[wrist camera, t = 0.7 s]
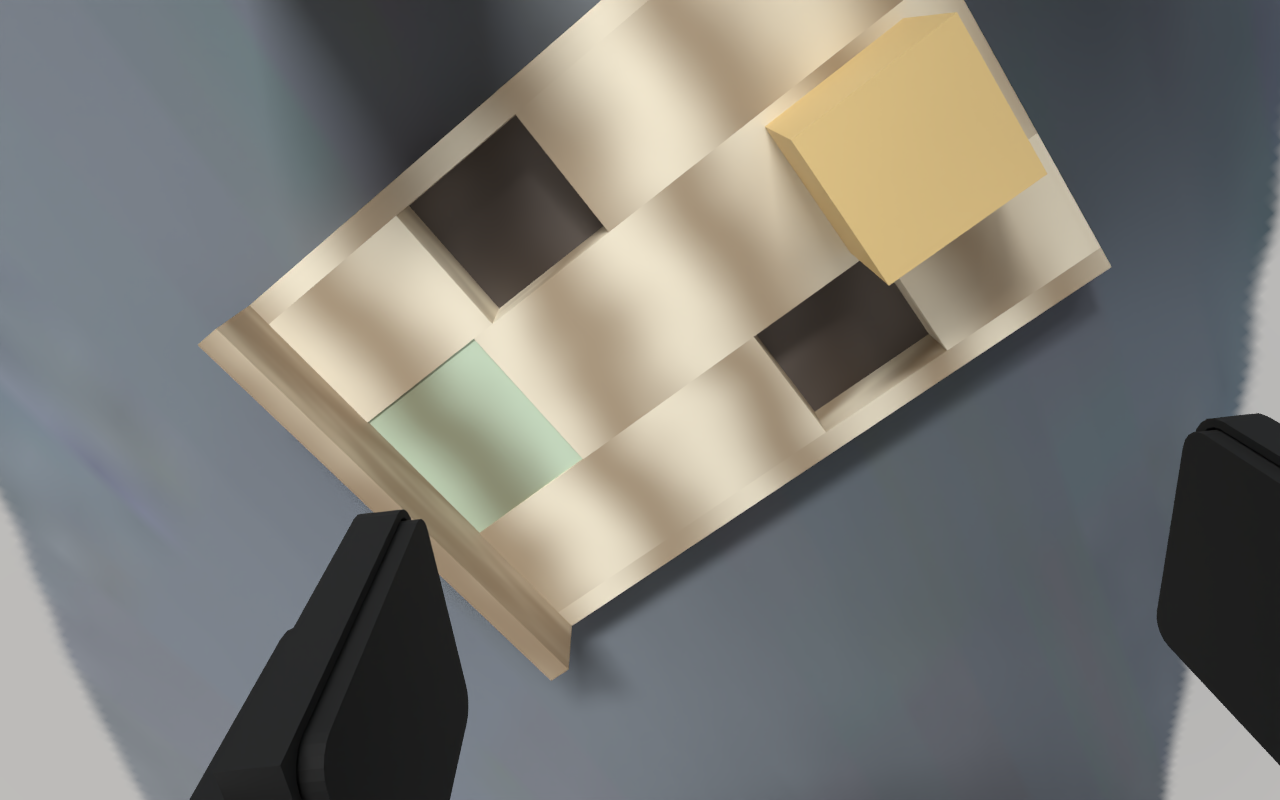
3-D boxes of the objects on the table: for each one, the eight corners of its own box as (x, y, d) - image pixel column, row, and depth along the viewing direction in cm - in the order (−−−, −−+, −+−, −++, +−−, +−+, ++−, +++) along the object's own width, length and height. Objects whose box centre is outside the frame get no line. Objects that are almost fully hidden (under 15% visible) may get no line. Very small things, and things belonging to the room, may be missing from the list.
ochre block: (903, 17, 30) (956, 12, 25) (984, 155, 32) (1047, 174, 27) (764, 126, 31) (791, 140, 26) (850, 252, 33) (889, 285, 28)
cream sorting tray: (827, -192, 29) (873, -243, 24) (1079, 253, 36) (1156, 286, 31) (257, 302, 35) (197, 344, 30) (558, 604, 42) (551, 680, 37)
